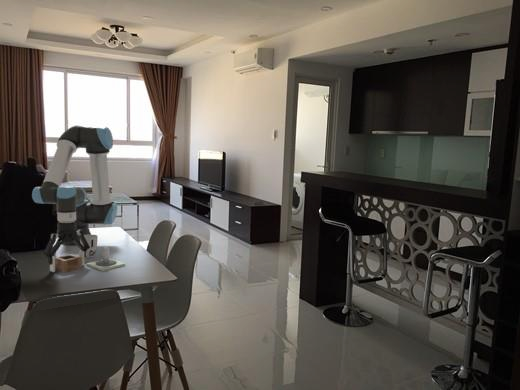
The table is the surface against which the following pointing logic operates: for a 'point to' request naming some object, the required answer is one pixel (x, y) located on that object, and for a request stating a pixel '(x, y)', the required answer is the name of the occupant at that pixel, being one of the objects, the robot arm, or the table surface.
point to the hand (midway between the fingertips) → (67, 268)
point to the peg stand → (106, 262)
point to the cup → (92, 243)
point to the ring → (67, 263)
